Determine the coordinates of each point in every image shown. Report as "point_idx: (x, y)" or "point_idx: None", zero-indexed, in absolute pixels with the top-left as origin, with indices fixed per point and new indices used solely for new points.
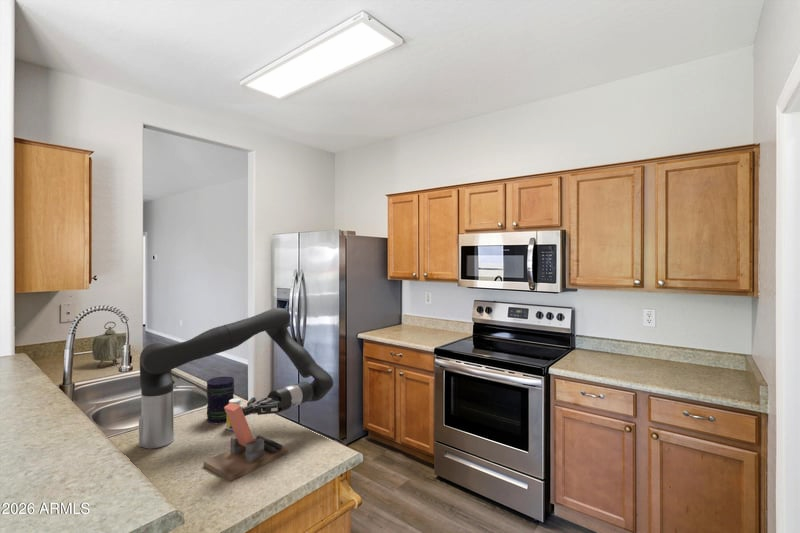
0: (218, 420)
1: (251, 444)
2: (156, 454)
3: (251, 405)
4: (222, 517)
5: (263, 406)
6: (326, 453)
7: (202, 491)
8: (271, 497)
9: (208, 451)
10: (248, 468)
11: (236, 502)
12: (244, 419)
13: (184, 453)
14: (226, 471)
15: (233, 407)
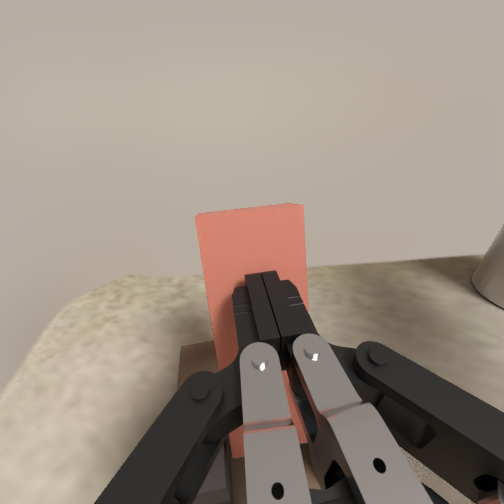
0: None
1: None
2: (433, 281)
3: (292, 349)
4: (95, 303)
5: (157, 428)
6: None
7: (202, 303)
8: (14, 402)
9: None
10: None
11: (101, 334)
12: (209, 309)
13: (418, 320)
14: (213, 346)
15: (231, 211)
